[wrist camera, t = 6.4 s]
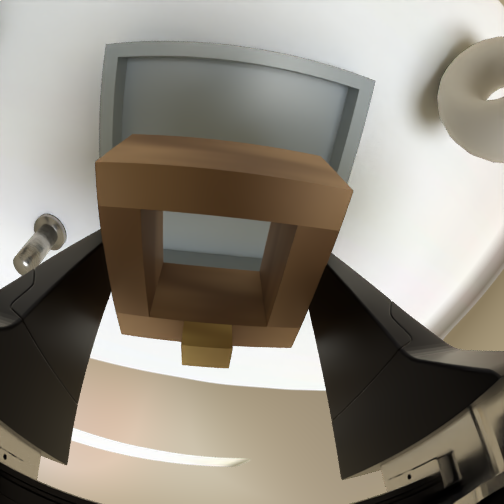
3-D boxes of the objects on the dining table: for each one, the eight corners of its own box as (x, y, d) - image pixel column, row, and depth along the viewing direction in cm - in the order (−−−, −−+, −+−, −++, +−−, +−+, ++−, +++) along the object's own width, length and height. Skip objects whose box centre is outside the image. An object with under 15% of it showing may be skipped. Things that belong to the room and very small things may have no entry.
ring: (138, 281, 12) (115, 355, 9) (132, 134, 8) (76, 177, 5) (280, 293, 13) (295, 369, 10) (320, 156, 9) (369, 209, 6)
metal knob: (33, 213, 17) (2, 246, 13) (62, 215, 17) (32, 250, 14) (41, 245, 18) (14, 281, 15) (69, 248, 19) (44, 287, 15)
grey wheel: (464, 24, 10) (574, 39, 2) (488, 58, 11) (590, 90, 3) (402, 108, 14) (522, 163, 6) (430, 141, 16) (536, 211, 8)
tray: (119, 46, 11) (105, 44, 10) (360, 78, 13) (375, 80, 12) (118, 249, 19) (109, 266, 18) (305, 267, 21) (311, 285, 20)
